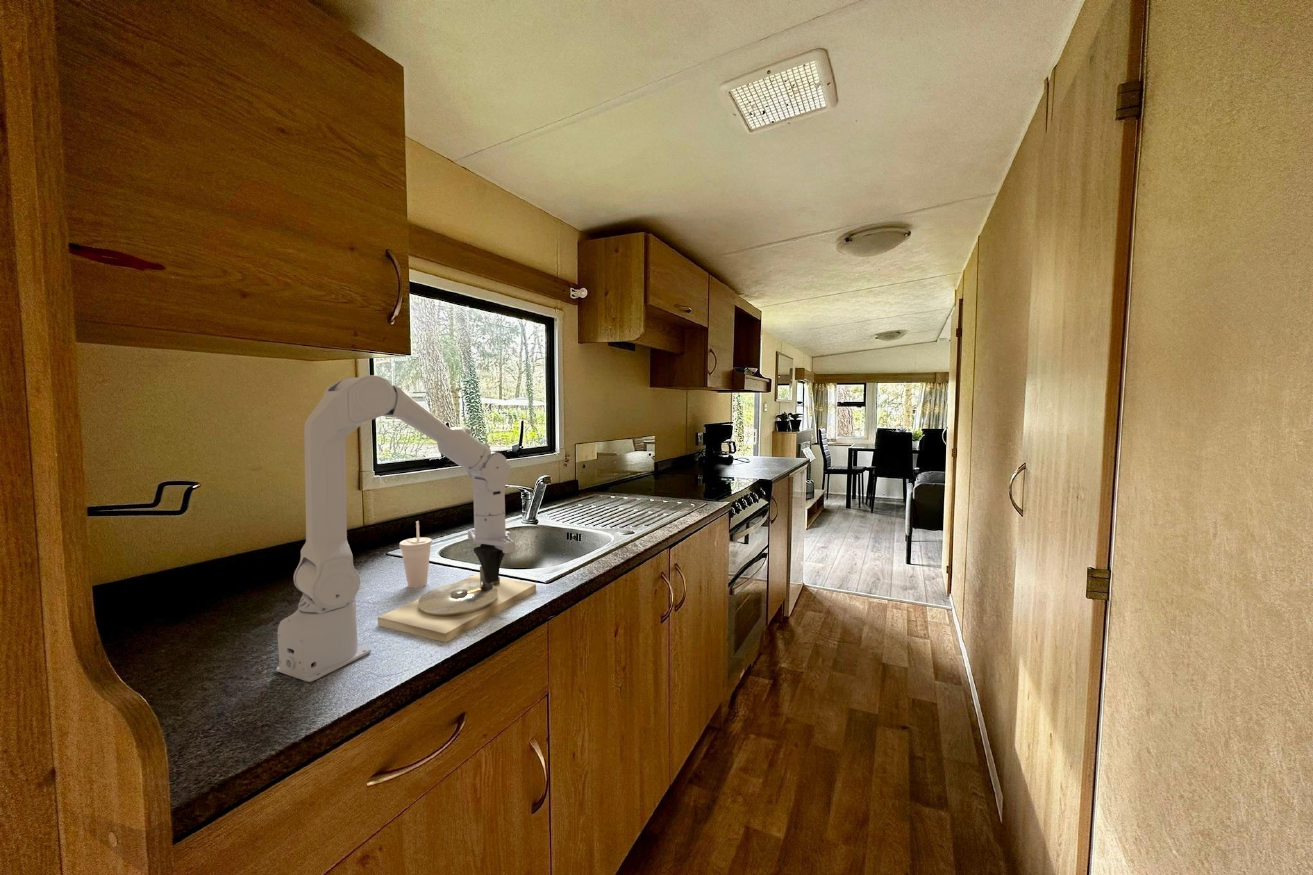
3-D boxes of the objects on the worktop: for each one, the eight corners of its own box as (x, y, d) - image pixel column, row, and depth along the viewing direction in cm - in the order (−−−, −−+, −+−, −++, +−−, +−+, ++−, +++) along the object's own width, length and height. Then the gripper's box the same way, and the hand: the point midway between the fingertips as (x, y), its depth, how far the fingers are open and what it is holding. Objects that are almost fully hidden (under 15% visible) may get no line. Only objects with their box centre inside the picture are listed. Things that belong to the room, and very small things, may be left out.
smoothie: (420, 591, 103) (418, 525, 102) (393, 589, 104) (391, 524, 103) (440, 580, 109) (437, 518, 108) (414, 578, 110) (412, 517, 109)
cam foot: (434, 623, 84) (433, 592, 84) (408, 599, 94) (407, 572, 94) (510, 600, 94) (510, 573, 93) (479, 581, 104) (478, 556, 103)
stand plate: (445, 642, 81) (445, 626, 81) (377, 625, 87) (377, 610, 87) (535, 591, 103) (535, 578, 103) (476, 580, 109) (476, 568, 109)
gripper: (528, 515, 93) (530, 585, 94) (490, 504, 103) (491, 568, 104) (494, 521, 88) (496, 595, 89) (457, 510, 98) (459, 576, 99)
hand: (491, 581), depth 96 cm, fingers closed
